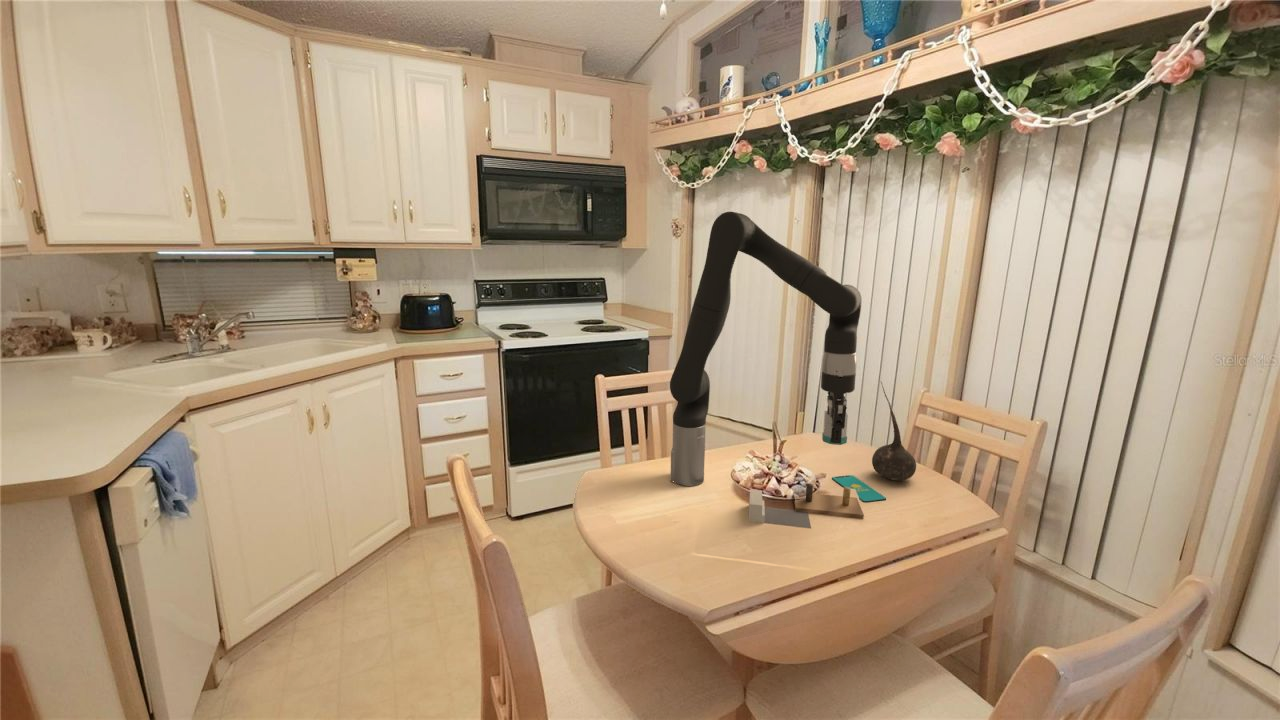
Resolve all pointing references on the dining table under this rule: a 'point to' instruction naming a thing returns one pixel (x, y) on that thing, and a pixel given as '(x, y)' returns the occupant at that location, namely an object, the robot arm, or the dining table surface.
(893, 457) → the radish
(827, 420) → the sleeve
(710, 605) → the dining table surface
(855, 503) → the pin board
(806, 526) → the feeder mat
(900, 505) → the dining table surface
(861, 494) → the smartphone
